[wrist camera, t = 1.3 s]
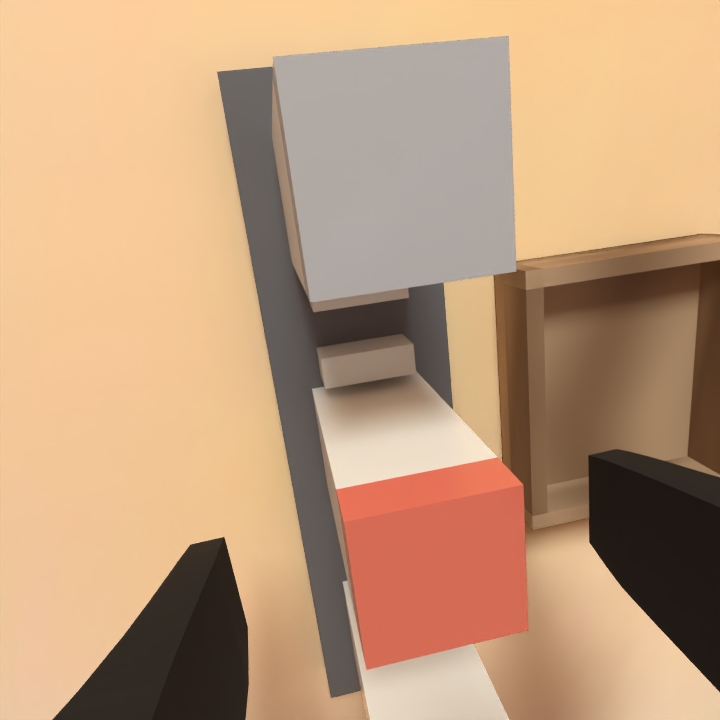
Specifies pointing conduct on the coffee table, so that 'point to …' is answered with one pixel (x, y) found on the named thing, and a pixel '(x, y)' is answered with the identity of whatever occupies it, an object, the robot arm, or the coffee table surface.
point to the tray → (608, 365)
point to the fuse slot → (426, 684)
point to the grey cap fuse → (395, 165)
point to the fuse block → (320, 351)
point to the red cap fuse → (421, 521)
